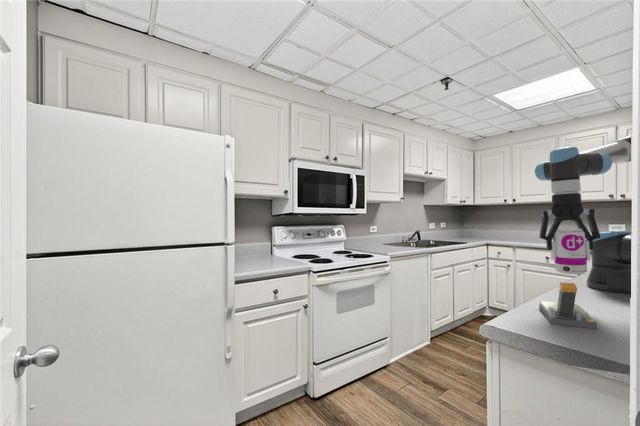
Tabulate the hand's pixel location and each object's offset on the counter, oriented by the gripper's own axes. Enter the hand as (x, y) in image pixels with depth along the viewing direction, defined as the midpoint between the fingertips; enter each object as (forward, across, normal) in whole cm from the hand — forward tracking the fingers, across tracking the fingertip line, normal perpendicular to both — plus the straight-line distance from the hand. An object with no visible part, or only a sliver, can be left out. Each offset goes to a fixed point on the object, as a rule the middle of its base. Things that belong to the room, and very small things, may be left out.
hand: (569, 259), depth 96 cm
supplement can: (+5, 0, 0) cm, 5 cm away
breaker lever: (+13, +7, +19) cm, 24 cm away
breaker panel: (+15, +6, +14) cm, 22 cm away
